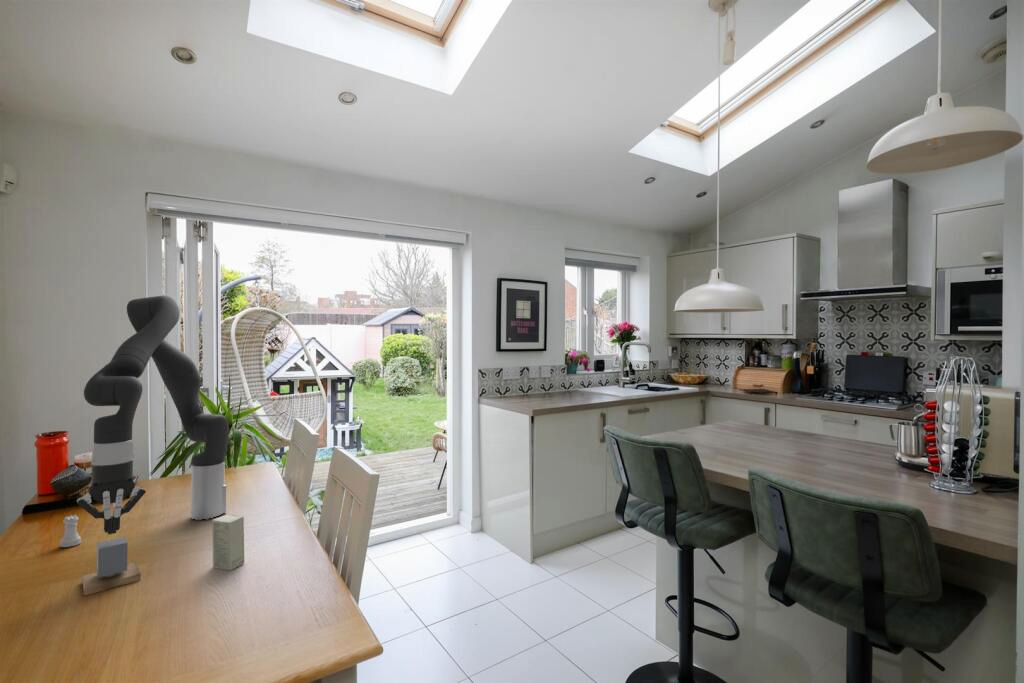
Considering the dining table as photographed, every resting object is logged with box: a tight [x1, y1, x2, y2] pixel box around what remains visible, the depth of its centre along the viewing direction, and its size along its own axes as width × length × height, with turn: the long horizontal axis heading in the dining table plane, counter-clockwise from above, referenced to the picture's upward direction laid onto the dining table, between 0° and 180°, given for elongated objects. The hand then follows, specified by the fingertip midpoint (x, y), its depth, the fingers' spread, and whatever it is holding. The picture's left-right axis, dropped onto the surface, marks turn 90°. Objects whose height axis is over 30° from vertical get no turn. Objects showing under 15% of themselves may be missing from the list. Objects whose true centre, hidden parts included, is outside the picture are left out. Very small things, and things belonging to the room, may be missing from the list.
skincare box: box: [211, 513, 245, 571], centre depth 120 cm, size 6×4×12 cm
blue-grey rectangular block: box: [96, 536, 129, 578], centre depth 112 cm, size 5×5×7 cm
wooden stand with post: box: [81, 562, 142, 596], centre depth 112 cm, size 10×8×9 cm
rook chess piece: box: [59, 514, 82, 548], centre depth 132 cm, size 4×4×8 cm
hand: (111, 532), depth 112 cm, fingers closed
